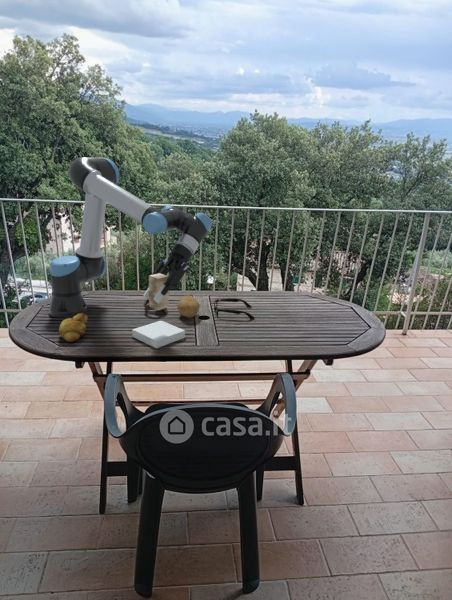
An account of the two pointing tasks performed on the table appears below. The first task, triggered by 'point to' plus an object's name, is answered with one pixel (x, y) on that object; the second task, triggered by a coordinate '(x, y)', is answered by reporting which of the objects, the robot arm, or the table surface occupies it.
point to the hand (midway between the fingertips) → (150, 299)
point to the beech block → (154, 287)
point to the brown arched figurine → (147, 308)
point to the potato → (188, 306)
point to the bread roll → (73, 327)
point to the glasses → (232, 310)
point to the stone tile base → (158, 334)
